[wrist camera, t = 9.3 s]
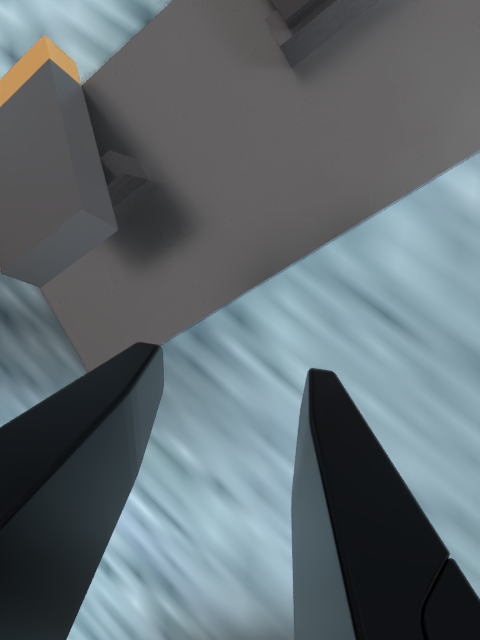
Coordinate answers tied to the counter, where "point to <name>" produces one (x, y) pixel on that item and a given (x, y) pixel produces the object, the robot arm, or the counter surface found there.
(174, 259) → the breaker strip
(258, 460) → the counter surface
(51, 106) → the block
